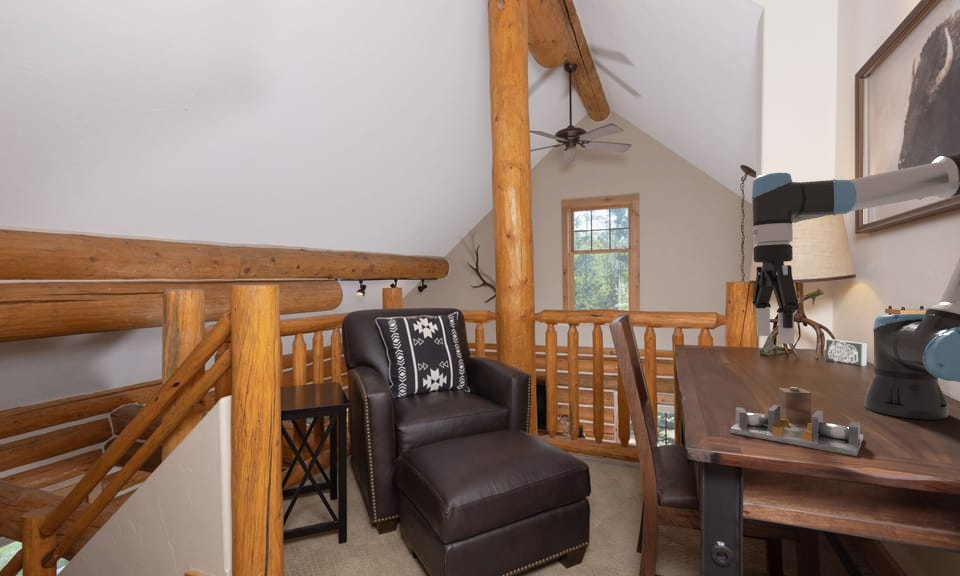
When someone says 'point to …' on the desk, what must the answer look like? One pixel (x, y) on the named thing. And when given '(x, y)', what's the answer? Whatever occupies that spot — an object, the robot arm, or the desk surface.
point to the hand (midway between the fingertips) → (774, 339)
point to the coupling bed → (807, 433)
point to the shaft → (750, 419)
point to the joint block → (795, 405)
